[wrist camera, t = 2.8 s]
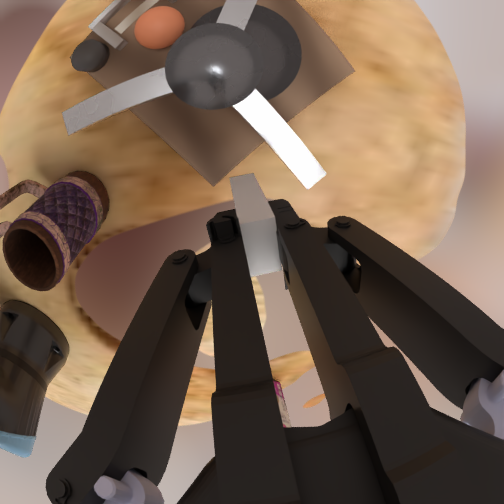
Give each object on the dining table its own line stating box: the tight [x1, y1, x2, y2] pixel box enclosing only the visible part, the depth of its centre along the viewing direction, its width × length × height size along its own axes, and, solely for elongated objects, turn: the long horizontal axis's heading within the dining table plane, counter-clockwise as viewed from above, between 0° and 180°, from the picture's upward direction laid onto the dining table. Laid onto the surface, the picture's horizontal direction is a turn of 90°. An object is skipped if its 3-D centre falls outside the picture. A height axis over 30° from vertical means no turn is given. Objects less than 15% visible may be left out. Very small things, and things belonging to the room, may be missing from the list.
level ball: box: [134, 6, 185, 49], centre depth 14 cm, size 4×4×4 cm
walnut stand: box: [70, 0, 355, 187], centre depth 17 cm, size 18×20×4 cm
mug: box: [0, 171, 109, 291], centre depth 19 cm, size 10×7×12 cm
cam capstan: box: [62, 0, 326, 190], centre depth 17 cm, size 19×16×8 cm
